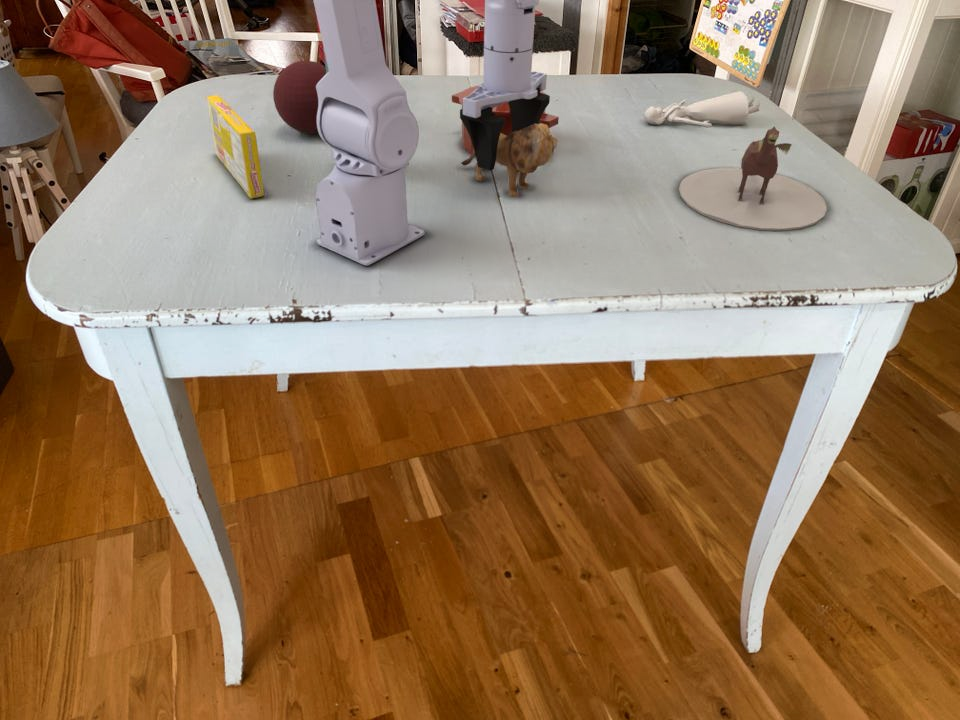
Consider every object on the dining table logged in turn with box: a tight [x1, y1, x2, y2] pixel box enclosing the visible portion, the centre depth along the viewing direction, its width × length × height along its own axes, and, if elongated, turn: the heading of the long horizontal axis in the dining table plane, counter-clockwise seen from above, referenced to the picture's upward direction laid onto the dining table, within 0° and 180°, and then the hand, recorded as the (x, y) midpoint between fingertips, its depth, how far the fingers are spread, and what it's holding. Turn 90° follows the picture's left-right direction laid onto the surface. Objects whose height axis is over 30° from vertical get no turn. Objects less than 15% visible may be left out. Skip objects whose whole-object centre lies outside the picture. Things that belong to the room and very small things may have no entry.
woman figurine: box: [644, 90, 762, 128], centre depth 111 cm, size 12×4×18 cm
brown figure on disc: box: [678, 126, 828, 232], centre depth 87 cm, size 18×18×11 cm
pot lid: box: [459, 84, 547, 116], centre depth 98 cm, size 13×13×5 cm
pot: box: [451, 91, 560, 157], centre depth 101 cm, size 12×17×6 cm
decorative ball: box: [272, 60, 326, 135], centre depth 103 cm, size 10×10×10 cm
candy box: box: [206, 94, 265, 200], centre depth 90 cm, size 16×2×8 cm, turn 31°
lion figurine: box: [460, 123, 559, 198], centre depth 90 cm, size 15×5×9 cm, turn 49°
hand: (503, 159), depth 91 cm, fingers open, 7 cm apart
